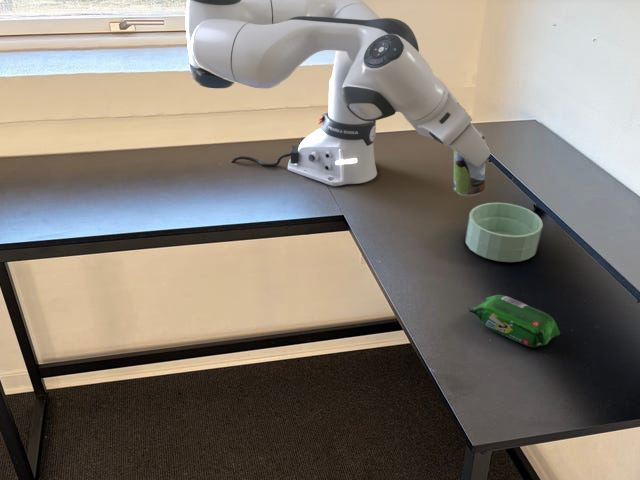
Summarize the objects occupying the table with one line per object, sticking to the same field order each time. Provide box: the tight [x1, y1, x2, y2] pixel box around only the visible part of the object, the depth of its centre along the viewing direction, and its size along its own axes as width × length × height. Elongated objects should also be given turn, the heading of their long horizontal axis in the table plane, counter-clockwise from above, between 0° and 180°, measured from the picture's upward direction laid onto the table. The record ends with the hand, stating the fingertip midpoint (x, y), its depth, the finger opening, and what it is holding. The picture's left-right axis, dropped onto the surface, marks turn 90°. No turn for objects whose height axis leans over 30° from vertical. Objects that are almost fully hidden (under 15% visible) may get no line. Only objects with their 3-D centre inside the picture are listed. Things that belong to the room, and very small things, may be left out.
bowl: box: [465, 202, 544, 263], centre depth 155 cm, size 15×15×6 cm
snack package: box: [468, 294, 561, 348], centre depth 130 cm, size 7×16×5 cm, turn 52°
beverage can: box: [453, 129, 487, 197], centre depth 140 cm, size 6×7×12 cm
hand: (471, 156), depth 140 cm, fingers closed on beverage can, 5 cm apart
